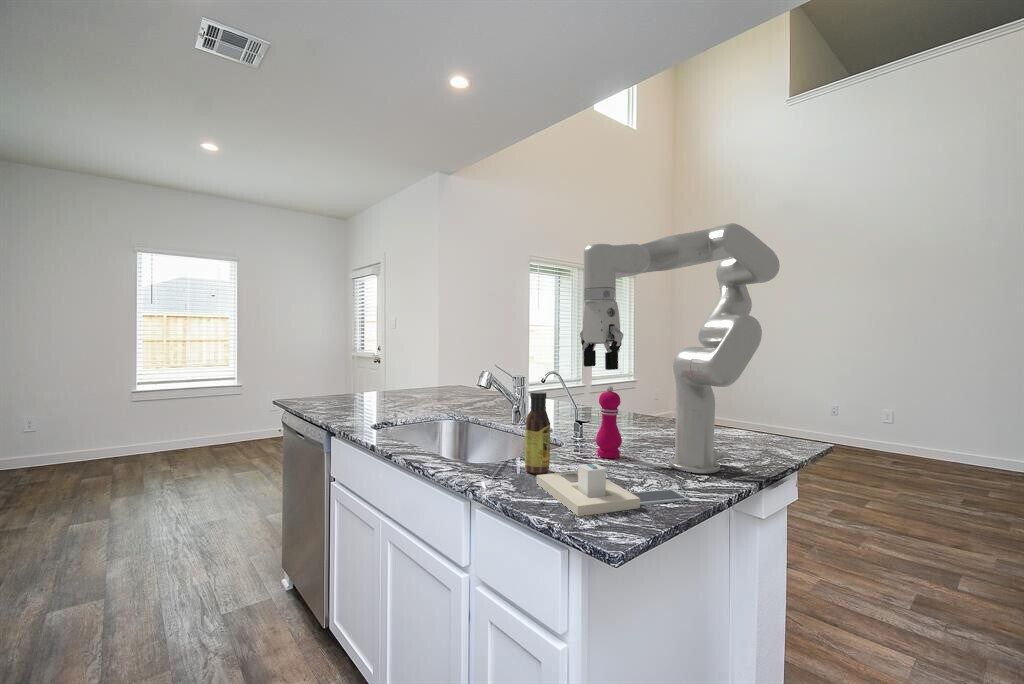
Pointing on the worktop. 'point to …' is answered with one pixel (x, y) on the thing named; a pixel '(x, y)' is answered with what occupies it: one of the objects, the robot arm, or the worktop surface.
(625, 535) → the worktop surface
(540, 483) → the outlet plate
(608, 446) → the pepper mill
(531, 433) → the sauce bottle
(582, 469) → the plug
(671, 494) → the plate
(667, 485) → the worktop surface
